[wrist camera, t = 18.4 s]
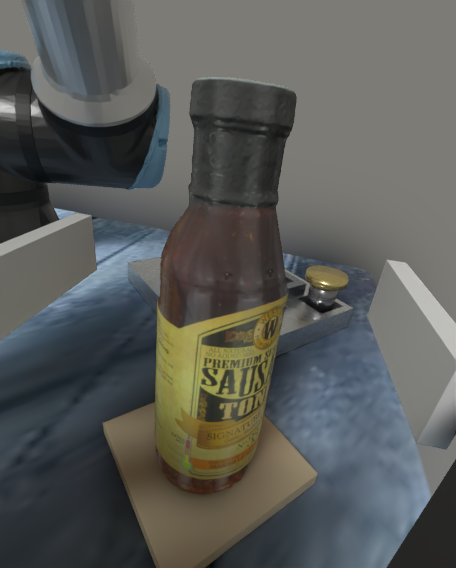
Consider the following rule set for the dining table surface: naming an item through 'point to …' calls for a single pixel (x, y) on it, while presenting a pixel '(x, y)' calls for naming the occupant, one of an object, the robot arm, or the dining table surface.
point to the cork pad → (202, 507)
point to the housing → (297, 317)
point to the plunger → (324, 287)
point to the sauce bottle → (222, 287)
